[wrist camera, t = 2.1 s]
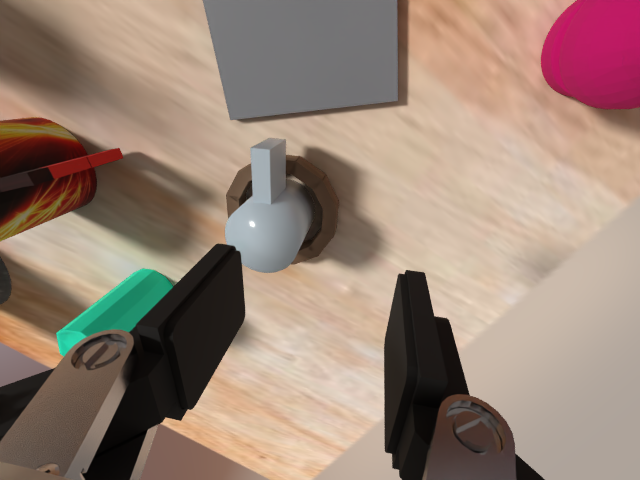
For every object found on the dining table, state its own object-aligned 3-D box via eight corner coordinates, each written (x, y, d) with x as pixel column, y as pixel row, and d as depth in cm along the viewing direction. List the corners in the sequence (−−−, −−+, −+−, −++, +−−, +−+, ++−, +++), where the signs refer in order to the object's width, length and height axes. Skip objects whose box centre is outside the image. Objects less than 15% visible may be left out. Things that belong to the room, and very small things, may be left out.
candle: (145, 259, 37) (51, 331, 26) (184, 293, 38) (109, 374, 28) (123, 284, 40) (29, 358, 29) (160, 314, 41) (83, 396, 30)
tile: (185, -98, 21) (178, -104, 21) (395, -158, 18) (396, -167, 18) (234, 119, 27) (230, 120, 27) (397, 100, 25) (397, 100, 24)
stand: (231, 149, 29) (222, 153, 27) (342, 160, 27) (339, 165, 26) (238, 247, 34) (231, 255, 32) (333, 260, 32) (331, 270, 31)
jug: (314, 239, 32) (297, 277, 26) (257, 231, 32) (228, 267, 26) (319, 137, 27) (300, 154, 21) (253, 131, 28) (216, 146, 22)
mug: (135, 152, 31) (6, 191, 20) (71, 222, 36) (-54, 281, 26) (53, 64, 28) (-141, 56, 18) (-1, 154, 34) (-173, 189, 23)
